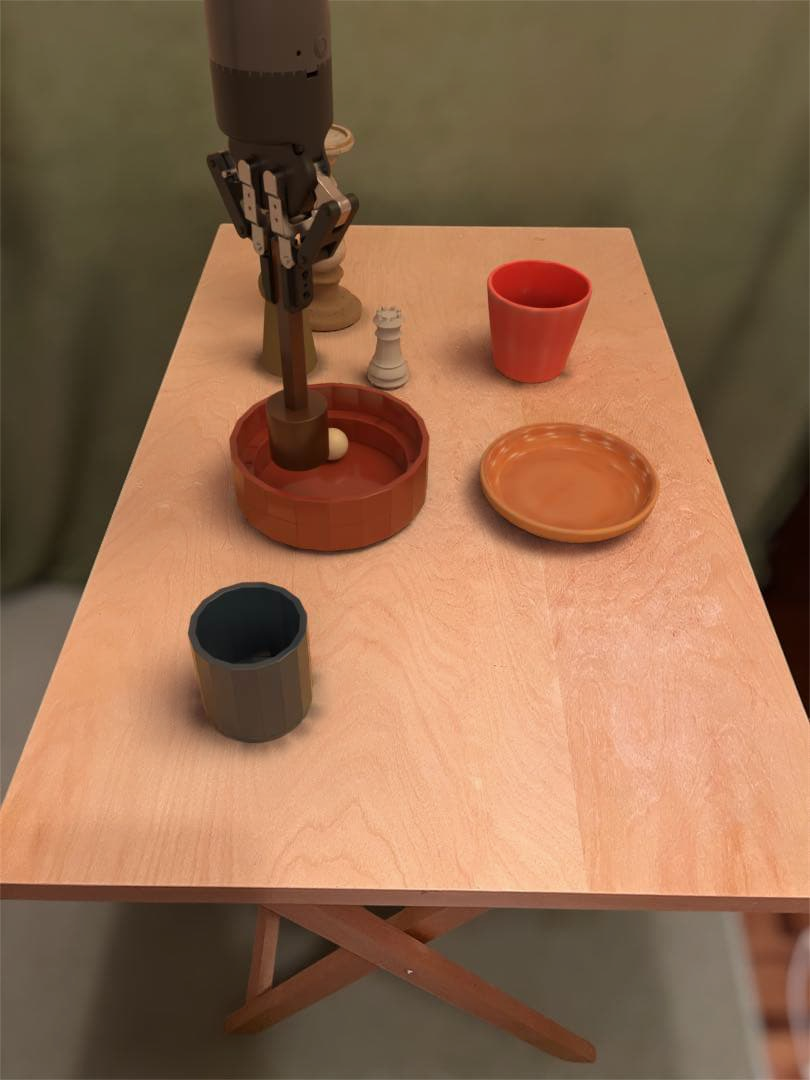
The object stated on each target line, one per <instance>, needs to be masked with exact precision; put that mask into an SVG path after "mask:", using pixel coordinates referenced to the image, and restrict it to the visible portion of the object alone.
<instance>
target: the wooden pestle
mask: <svg viewBox="0 0 810 1080" xmlns="http://www.w3.org/2000/svg"><path fill="white" fill-rule="evenodd" d="M298 241H299V238H296V237H295V246H296V245H298ZM271 249H272V260H273V271H274V283H275V295H276V308H277V320H278V332H279V344H280V355H281V367H282V388H283V389H281V390H279V391H276V392H275V393H272V394H273V395H272V394H271V395H272V396H271V395H269V396H270V397H269V396H268V397H269V399H268V400H267V402H266V417H267V427H268V436H269V446H270V456H271V459H272V461H273V462H274V463H275V464H276V465H277V466H278V467H280V468H282V469H285V470H289V471H297V472H300V471H308V470H312V469H315V468H317V467H319V466H321V465H322V464H324V463H325V462H326V460H327V459H328V457H329V454H330V449H329V427H328V406H327V400H326V398H325V397H324V396H323V395H322V394H321V393H319V392H317V391H315V390H313V389H309V388H307V385H308V378H307V374H306V360H305V344H304V328H303V313H302V310H301V311H299V312H297V313H295V314H292V313H290V312H288V311H286V310H284V308H283V299H282V286H281V274H280V265H282V262H281V259H280V250H279V240H278V237H275V238H273V239H271Z"/></svg>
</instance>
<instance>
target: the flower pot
mask: <svg viewBox="0 0 810 1080" xmlns="http://www.w3.org/2000/svg"><path fill="white" fill-rule="evenodd" d="M486 291H487V307H488V308H487V309H488V319H489V320H488V322H489V332H490V340H491V341H490V342H491V350H492V359H493V364H494V367H495V368H496V369H497V370H498V371H499V372H500V373H502V375H504V376H505V377H508V378H509V379H511V380H514V381H519V382H523V383H532V384H533V383H534V384H535V383H543V382H548V381H551V380H553V379H555V378H557V377H558V376H559V375H561V373H562V372H563V371H564V368H565V367H566V364H567V361H568V359H569V357H570V354H571V351H572V349H573V346H574V344H575V342H576V338H577V336H578V333H579V331H580V328H581V324H582V323H583V320H584V317H585V315H586V312H587V310H588V306H589V305H590V301H591V298H592V295H593V284H592V282H591V280H590V279H589V278H588V276H587V275H585V274H584V273H583V272H582V271H580V270H578V269H577V268H574V267H572V266H570V265H566V264H564V263H560V262H557V261H551V260H546V259H545V260H544V259H519V260H513V261H509V262H506V263H504V264H501V265H499V266H498V267H496V268H495V269H493V270H492V271H491V272H490V273H489V275H488V277H487V280H486Z"/></svg>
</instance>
